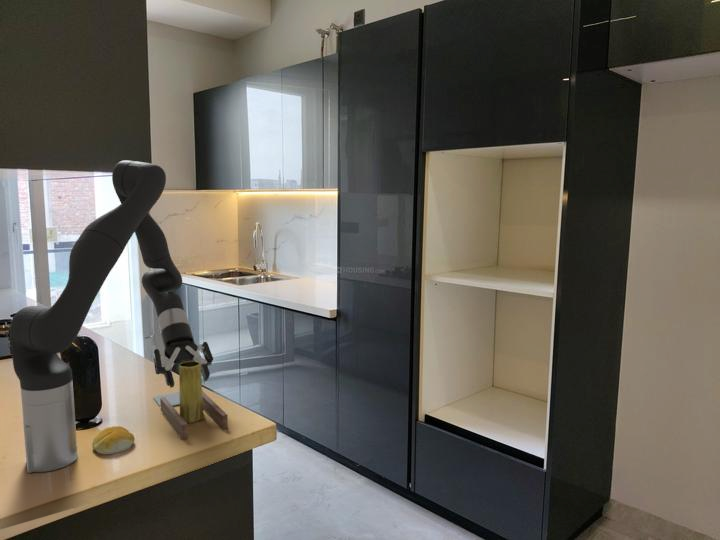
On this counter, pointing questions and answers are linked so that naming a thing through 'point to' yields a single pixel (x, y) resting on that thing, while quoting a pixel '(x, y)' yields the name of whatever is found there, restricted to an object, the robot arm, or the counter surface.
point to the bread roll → (113, 440)
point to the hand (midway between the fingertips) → (189, 382)
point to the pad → (169, 398)
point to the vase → (191, 391)
